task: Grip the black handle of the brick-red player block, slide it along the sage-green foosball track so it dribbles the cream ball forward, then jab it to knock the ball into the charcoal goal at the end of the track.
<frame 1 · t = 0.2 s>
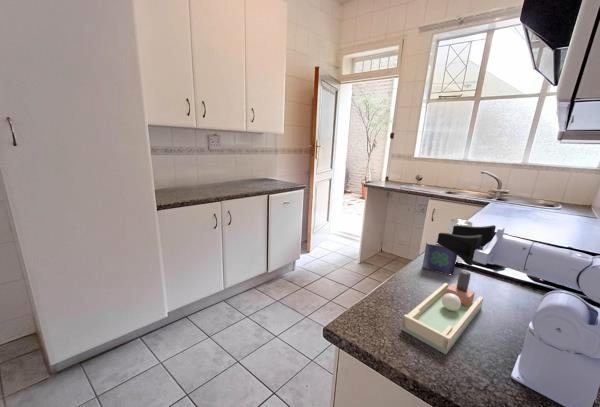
hand: (446, 233, 56), 21 cm above the countertop, tool horizontal, fingers open, 7 cm apart
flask: (437, 271, 87), on the countertop
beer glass: (453, 262, 94), on the countertop
ball: (451, 302, 64), point 3 cm above the countertop, touching pitch
pitch: (444, 317, 62), on the countertop
player: (461, 286, 68), point 5 cm above the countertop, slide at 0.0 cm
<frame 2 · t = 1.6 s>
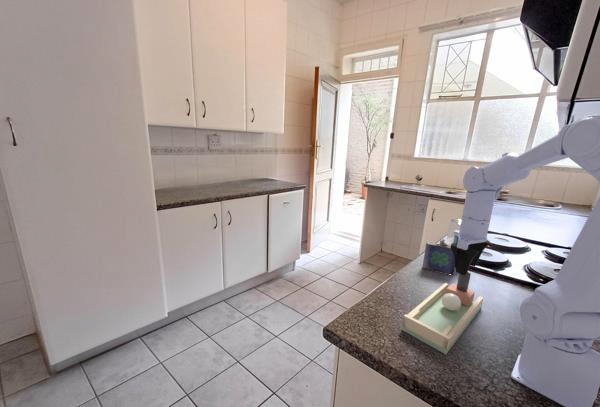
hand: (465, 269, 67), 9 cm above the countertop, tool pointing down, fingers open, 7 cm apart
nothing on the countertop moved.
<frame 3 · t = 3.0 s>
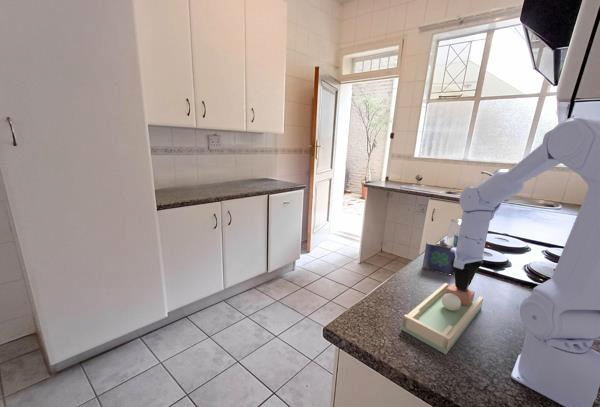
hand: (462, 286, 68), 5 cm above the countertop, tool pointing down, fingers closed on player, 2 cm apart
player: (461, 286, 68), point 5 cm above the countertop, slide at 0.0 cm, touching gripper
everything else where it was.
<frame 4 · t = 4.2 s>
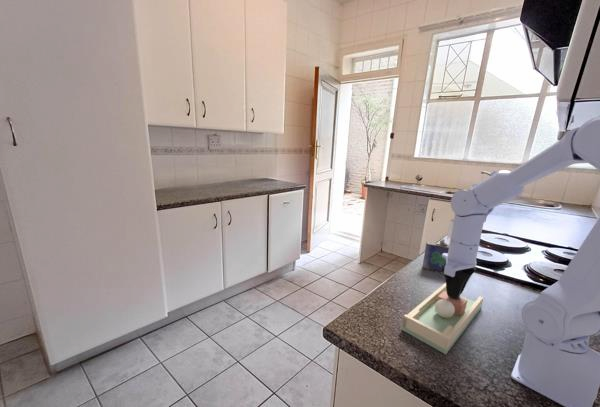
hand: (454, 294, 64), 5 cm above the countertop, tool pointing down, fingers closed on player, 2 cm apart
ball: (444, 308, 61), point 3 cm above the countertop, tilted 117°, touching pitch
player: (453, 294, 64), point 5 cm above the countertop, slide at 5.9 cm, touching gripper
everything else where it was.
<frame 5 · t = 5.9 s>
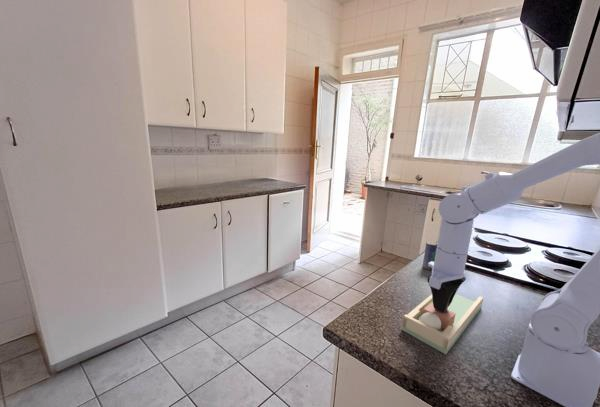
hand: (441, 306, 59), 5 cm above the countertop, tool pointing down, fingers closed on player, 2 cm apart
ball: (430, 322, 56), point 3 cm above the countertop, tilted 15°, touching pitch
player: (440, 306, 58), point 5 cm above the countertop, slide at 14.0 cm, touching gripper
everything else where it was.
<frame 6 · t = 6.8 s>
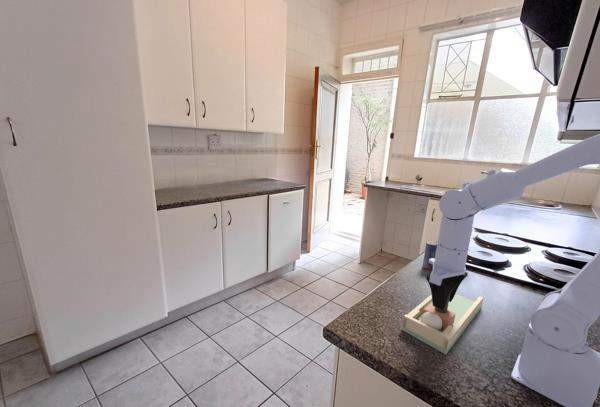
hand: (442, 303, 59), 5 cm above the countertop, tool pointing down, fingers open, 4 cm apart
ball: (431, 321, 56), point 3 cm above the countertop, tilted 26°, touching pitch
player: (440, 306, 58), point 5 cm above the countertop, slide at 14.0 cm
everything else where it was.
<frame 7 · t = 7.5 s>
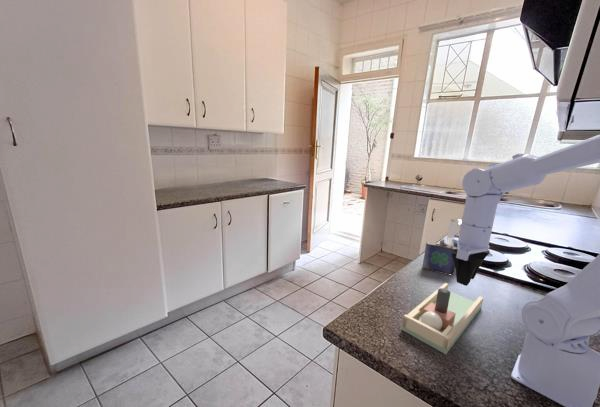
hand: (465, 280, 61), 9 cm above the countertop, tool pointing down, fingers open, 4 cm apart
ball: (431, 321, 56), point 3 cm above the countertop, tilted 31°, touching pitch
everything else where it was.
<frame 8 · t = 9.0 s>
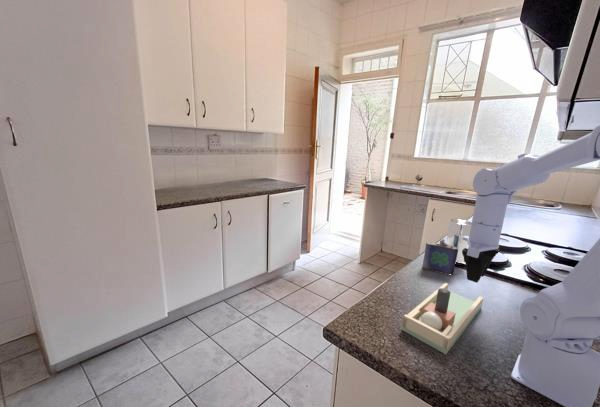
hand: (475, 277, 63), 9 cm above the countertop, tool pointing down, fingers open, 4 cm apart
nothing on the countertop moved.
at the end: ball 0.7 cm from the target spot on the pitch, point 3.0 cm above the pitch's base; player slide at 14.0 cm; the gripper is holding nothing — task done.
